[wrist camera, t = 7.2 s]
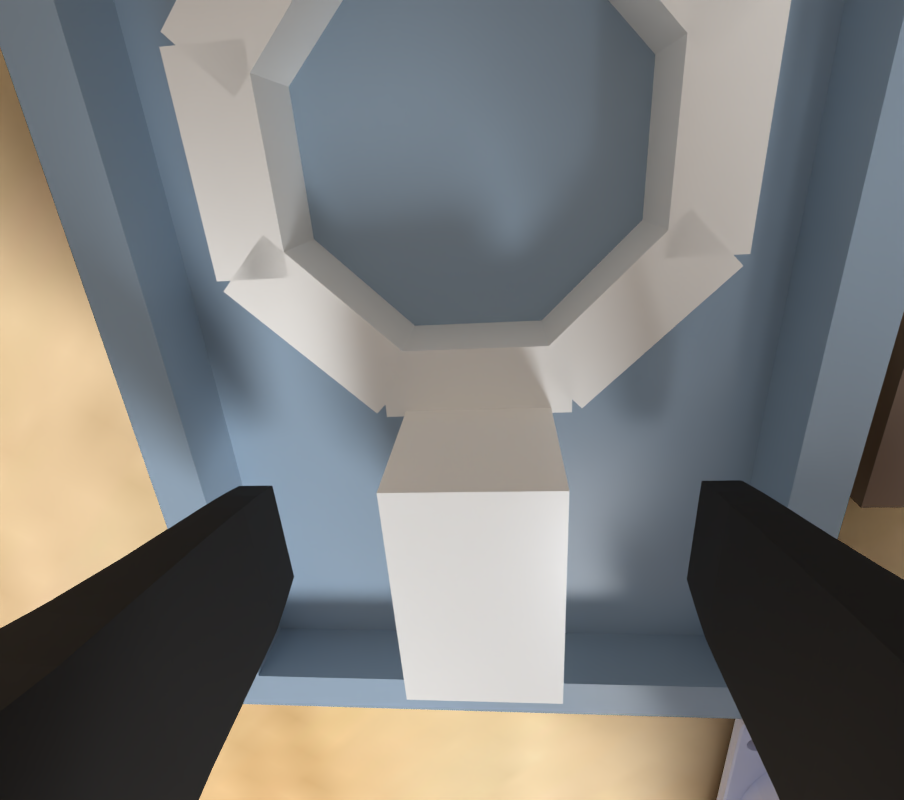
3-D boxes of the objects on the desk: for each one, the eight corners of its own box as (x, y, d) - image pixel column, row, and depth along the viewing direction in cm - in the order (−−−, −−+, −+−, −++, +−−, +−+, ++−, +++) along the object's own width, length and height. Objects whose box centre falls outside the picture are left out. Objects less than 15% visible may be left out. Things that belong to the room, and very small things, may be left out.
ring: (672, 538, 12) (752, 708, 8) (313, 539, 13) (239, 695, 9) (772, -221, 7) (1092, -659, 3) (168, -140, 8) (-133, -417, 4)
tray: (746, 645, 14) (784, 720, 12) (261, 637, 15) (228, 703, 13) (1062, -752, 5) (1345, -1206, 4) (-70, -511, 7) (-281, -759, 5)
